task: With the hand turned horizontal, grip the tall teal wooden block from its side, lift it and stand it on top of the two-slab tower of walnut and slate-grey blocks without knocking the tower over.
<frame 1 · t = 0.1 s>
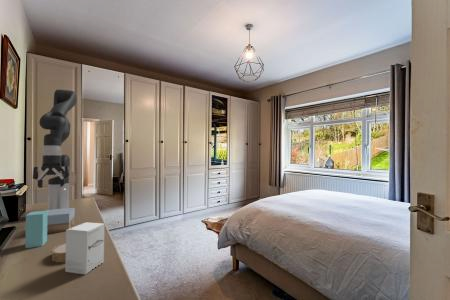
hand: (51, 187, 110), 17 cm above the table, tool pointing down, fingers open, 8 cm apart
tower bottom: (57, 229, 101), on the table
supplement box: (85, 267, 67), on the table
teal block: (36, 244, 83), on the table
alarm clock: (78, 253, 77), on the table
tower top: (57, 220, 101), point 4 cm above the table
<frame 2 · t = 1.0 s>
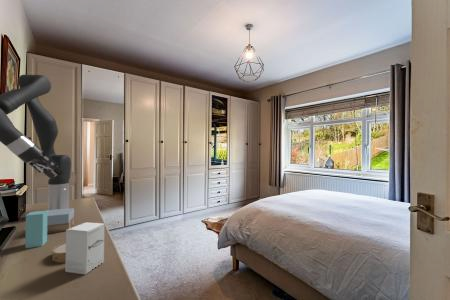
hand: (57, 176, 98), 24 cm above the table, tool tilted 40°, fingers open, 8 cm apart
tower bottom: (57, 229, 101), on the table, touching tower top
tower top: (56, 220, 100), point 3 cm above the table, touching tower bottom
everything else where it was.
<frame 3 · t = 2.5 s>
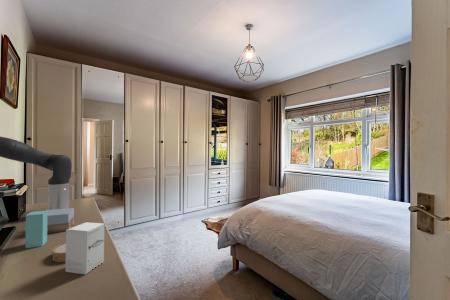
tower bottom: (57, 229, 101), on the table
tower top: (56, 220, 100), point 4 cm above the table
everything else where it was.
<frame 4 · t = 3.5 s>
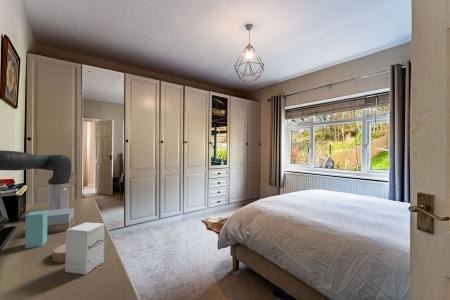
nothing on the table moved.
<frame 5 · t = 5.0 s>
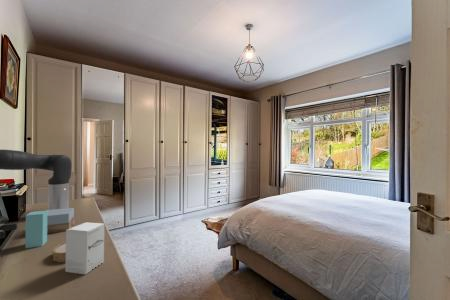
hand: (11, 230, 80), 6 cm above the table, tool horizontal, fingers open, 8 cm apart
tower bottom: (58, 229, 101), on the table, touching tower top
tower top: (57, 220, 100), point 4 cm above the table, touching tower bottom
everything else where it was.
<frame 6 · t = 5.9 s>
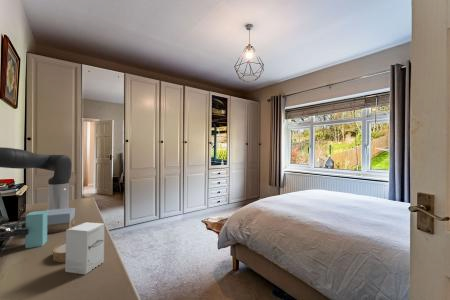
hand: (33, 227, 83), 6 cm above the table, tool horizontal, fingers open, 8 cm apart
nothing on the table moved.
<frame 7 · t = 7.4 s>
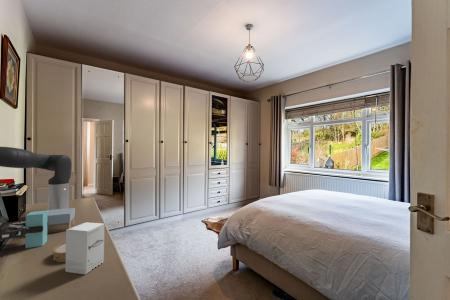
hand: (45, 226, 84), 7 cm above the table, tool horizontal, fingers closed on teal block, 5 cm apart
teal block: (36, 244, 83), on the table, touching gripper
everything else where it was.
when the fingers open (16 cm above the table, at t = 13.4 s): teal block drops 2 cm, resting on tower top.
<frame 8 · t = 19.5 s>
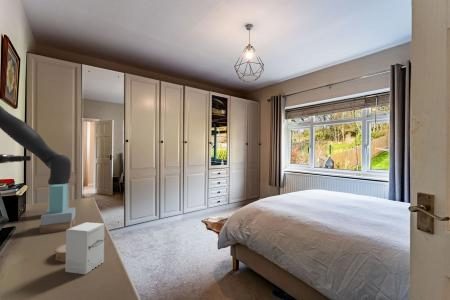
hand: (26, 158, 98), 32 cm above the table, tool horizontal, fingers open, 8 cm apart
teal block: (58, 211, 102), point 8 cm above the table, touching tower top
tower top: (59, 219, 102), point 3 cm above the table, touching teal block, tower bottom
everything else where it was.
at the end: teal block 0.2 cm off-centre on the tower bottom, point 8.1 cm above the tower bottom's base; teal block tilted 2°; tower top 0.3 cm off-centre on the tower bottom, point 4.0 cm above the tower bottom's base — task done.
